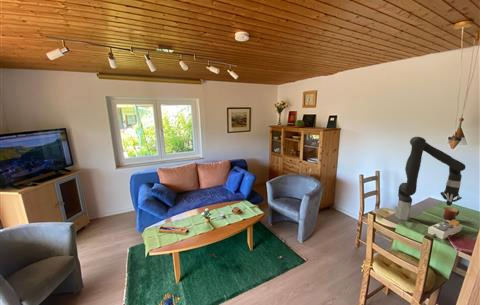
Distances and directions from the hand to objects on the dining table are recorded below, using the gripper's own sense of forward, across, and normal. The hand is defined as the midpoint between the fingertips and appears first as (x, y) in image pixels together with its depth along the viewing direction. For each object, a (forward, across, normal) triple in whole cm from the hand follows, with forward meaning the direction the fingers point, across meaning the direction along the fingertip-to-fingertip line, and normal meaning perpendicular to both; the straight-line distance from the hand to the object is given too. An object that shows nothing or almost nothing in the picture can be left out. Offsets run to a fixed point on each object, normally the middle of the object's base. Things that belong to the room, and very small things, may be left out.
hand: (448, 205), depth 160 cm
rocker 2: (+13, -6, +10) cm, 17 cm away
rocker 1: (+13, -6, +18) cm, 23 cm away
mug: (+19, +4, -19) cm, 27 cm away
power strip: (+19, -5, +12) cm, 23 cm away
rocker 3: (+13, -6, +2) cm, 14 cm away
